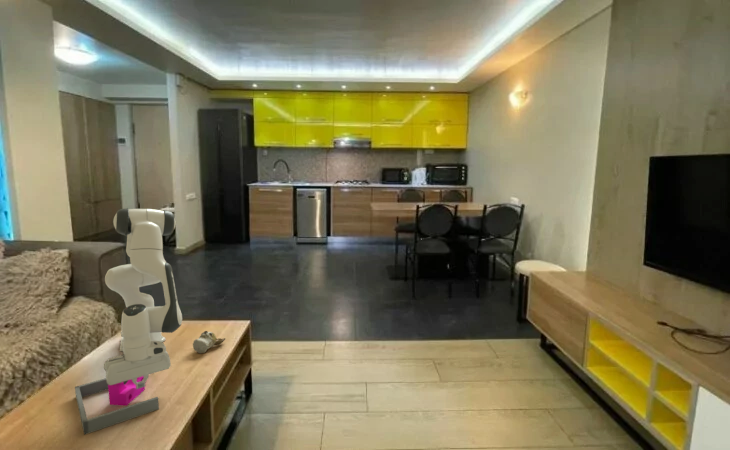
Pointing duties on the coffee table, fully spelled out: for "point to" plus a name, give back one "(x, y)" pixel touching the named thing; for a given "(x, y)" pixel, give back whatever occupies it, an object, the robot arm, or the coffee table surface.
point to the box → (110, 417)
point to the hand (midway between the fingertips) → (140, 387)
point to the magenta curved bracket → (124, 392)
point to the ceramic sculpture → (206, 342)
